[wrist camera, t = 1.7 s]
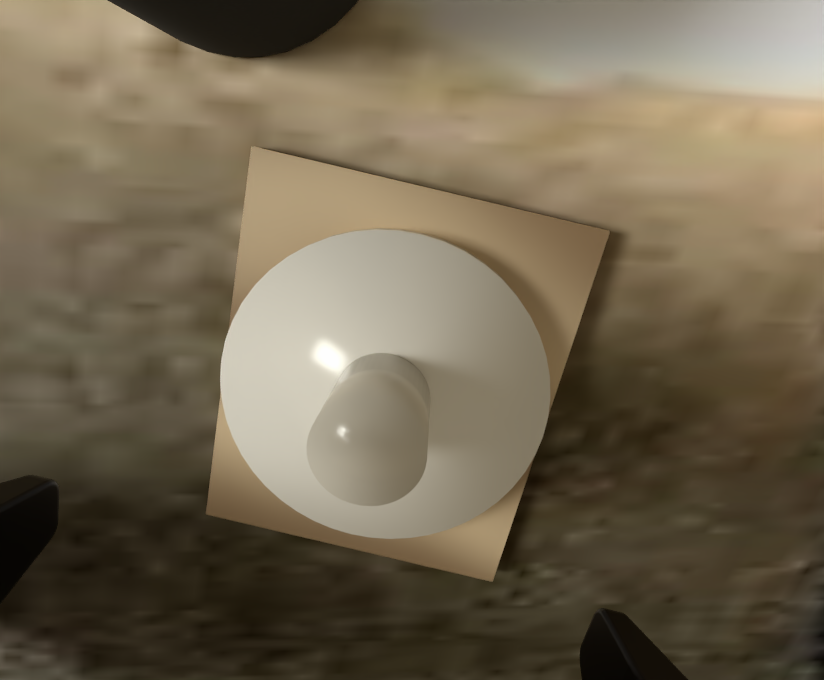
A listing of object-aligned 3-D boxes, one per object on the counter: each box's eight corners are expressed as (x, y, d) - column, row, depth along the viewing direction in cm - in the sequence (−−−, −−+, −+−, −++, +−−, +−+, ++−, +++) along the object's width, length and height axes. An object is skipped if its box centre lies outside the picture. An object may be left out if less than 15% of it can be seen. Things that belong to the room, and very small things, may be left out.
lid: (495, 551, 17) (509, 657, 13) (214, 484, 17) (147, 571, 13) (589, 273, 14) (643, 304, 10) (253, 191, 14) (183, 193, 10)
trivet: (490, 569, 18) (492, 581, 17) (213, 504, 18) (205, 514, 17) (603, 229, 14) (610, 231, 14) (259, 147, 14) (251, 145, 14)
